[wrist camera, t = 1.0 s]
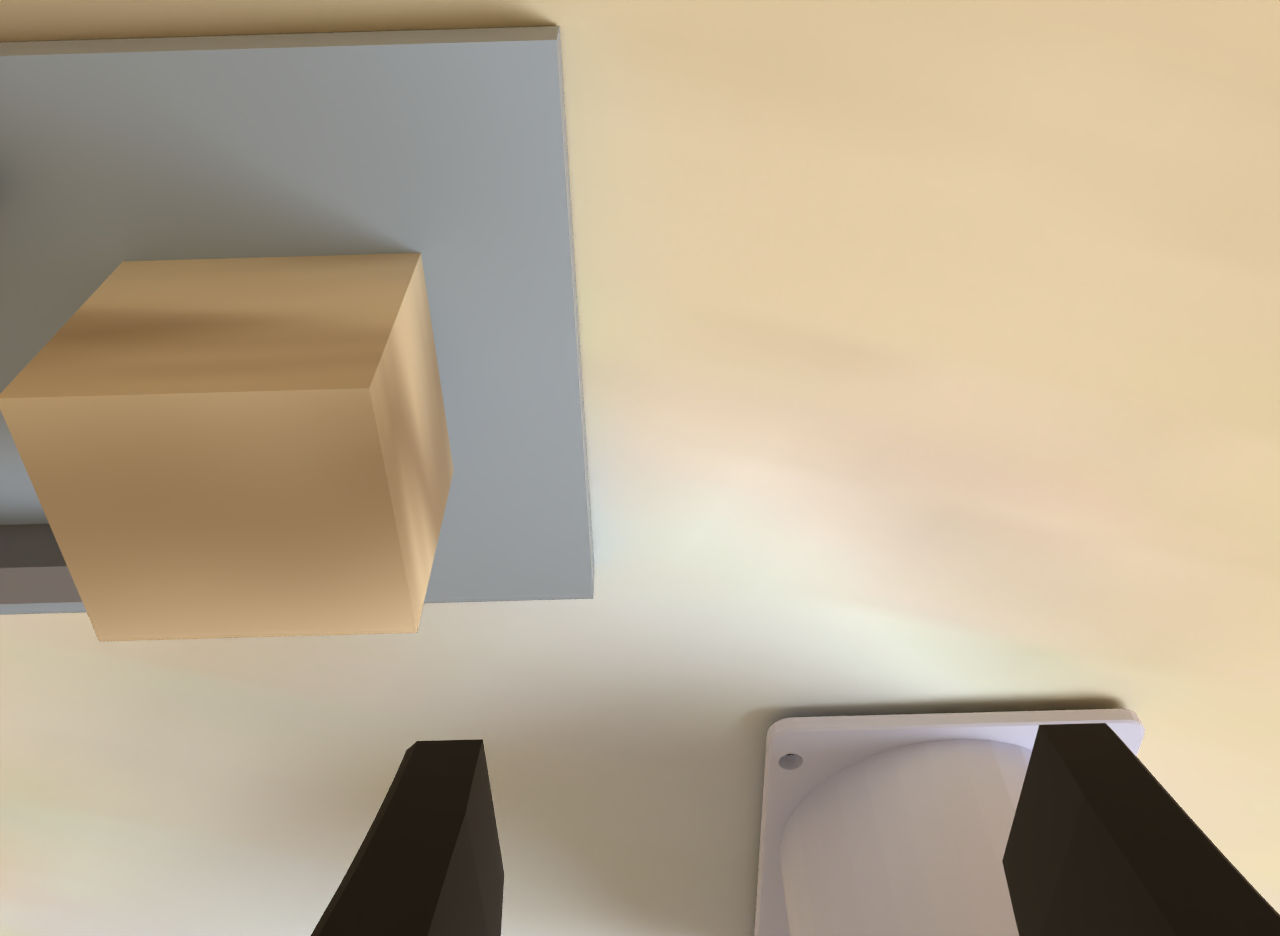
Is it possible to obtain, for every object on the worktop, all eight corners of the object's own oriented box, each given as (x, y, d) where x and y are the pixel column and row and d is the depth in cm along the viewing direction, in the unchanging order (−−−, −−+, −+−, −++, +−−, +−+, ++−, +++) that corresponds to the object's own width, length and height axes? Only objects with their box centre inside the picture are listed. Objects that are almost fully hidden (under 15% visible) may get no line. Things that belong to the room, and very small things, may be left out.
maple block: (453, 470, 19) (416, 633, 15) (192, 477, 19) (99, 641, 15) (420, 252, 16) (369, 388, 13) (122, 261, 16) (-5, 398, 13)
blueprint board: (594, 570, 21) (591, 643, 19) (-178, 592, 21) (-247, 665, 19) (559, 25, 15) (551, 62, 14) (-502, 56, 15) (-638, 97, 14)
